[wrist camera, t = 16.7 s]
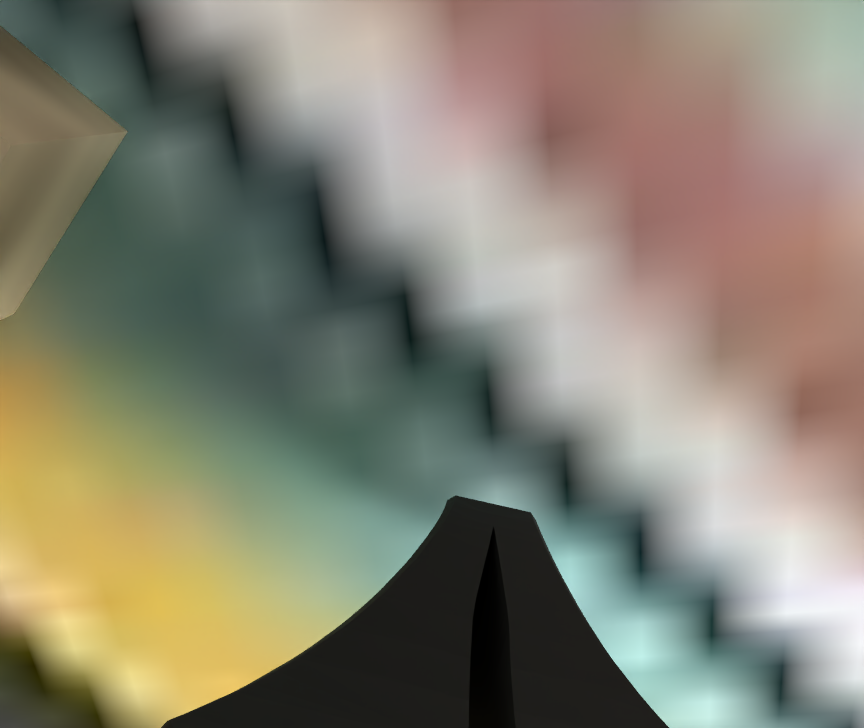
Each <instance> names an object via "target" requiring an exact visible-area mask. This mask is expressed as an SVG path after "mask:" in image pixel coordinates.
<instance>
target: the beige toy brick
mask: <svg viewBox="0 0 864 728" xmlns="http://www.w3.org/2000/svg"><path fill="white" fill-rule="evenodd" d="M127 132H128V131H127V130H125V129H124V128H123V127H122V126H121V125H119V124H118V123H117V122H116V121H115V120H113V119H112V118H111V117H110V116H109V115H107V114H106V113H105V112H104V111H103V110H101V109H100V108H99V107H98V106H97V105H95V104H94V103H93V102H92V101H90V100H89V99H88V98H87V97H86V96H84V95H83V94H82V93H81V92H80V91H78V90H77V89H76V88H75V87H74V86H72V85H71V84H70V83H69V82H68V81H66V80H65V79H64V78H63V77H62V76H60V75H59V74H58V73H57V72H56V71H54V70H53V69H52V68H51V67H50V66H48V65H47V64H46V63H45V62H43V61H42V60H41V59H40V58H39V57H37V56H36V55H35V54H34V53H33V52H31V51H30V50H29V49H28V48H27V47H25V46H24V45H23V44H22V43H21V42H19V41H18V40H17V39H16V38H15V37H13V36H12V35H11V34H10V33H9V32H7V31H6V30H5V29H4V28H3V27H1V26H0V320H2V319H4V318H6V317H9V316H11V315H13V314H15V312H16V310H17V309H18V307H19V305H20V304H21V302H22V301H23V299H24V297H25V296H26V294H27V293H28V291H29V289H30V288H31V286H32V285H33V283H34V281H35V280H36V278H37V277H38V275H39V273H40V272H41V270H42V268H43V267H44V265H45V264H46V262H47V260H48V259H49V257H50V256H51V254H52V252H53V251H54V249H55V248H56V246H57V244H58V243H59V241H60V240H61V238H62V236H63V235H64V233H65V232H66V230H67V228H68V227H69V225H70V223H71V222H72V220H73V219H74V217H75V215H76V214H77V212H78V211H79V209H80V207H81V206H82V204H83V203H84V201H85V199H86V198H87V196H88V195H89V193H90V191H91V190H92V188H93V186H94V185H95V183H96V182H97V180H98V178H99V177H100V175H101V174H102V172H103V170H104V169H105V167H106V166H107V164H108V162H109V161H110V159H111V158H112V156H113V154H114V153H115V151H116V149H117V148H118V146H119V145H120V143H121V141H122V140H123V138H124V137H125V135H126V133H127Z"/></svg>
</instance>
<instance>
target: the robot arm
mask: <svg viewBox="0 0 864 728" xmlns="http://www.w3.org/2000/svg"><path fill="white" fill-rule="evenodd" d="M161 728H669V727H668V726H667V725H666V724H665V723H664V722H663V721H662V720H661V719H660V717H659V716H658V715H657V714H656V713H655V712H654V711H653V710H652V708H651V707H650V706H649V705H648V704H647V703H646V701H645V700H644V699H643V698H642V697H641V696H640V694H639V693H638V692H637V691H636V689H635V688H634V687H633V685H632V684H631V683H630V682H629V680H628V679H627V678H626V676H625V675H624V674H623V673H622V671H621V670H620V669H619V667H618V666H617V665H616V664H615V662H614V661H613V660H612V658H611V657H610V655H609V654H608V653H607V651H606V650H605V648H604V647H603V645H602V644H601V642H600V641H599V639H598V637H597V636H596V634H595V633H594V631H593V630H592V628H591V627H590V625H589V623H588V622H587V620H586V618H585V617H584V615H583V613H582V612H581V610H580V608H579V607H578V605H577V603H576V601H575V600H574V598H573V596H572V594H571V592H570V591H569V589H568V587H567V585H566V583H565V581H564V580H563V578H562V576H561V574H560V572H559V570H558V568H557V566H556V564H555V562H554V560H553V558H552V556H551V554H550V552H549V550H548V547H547V545H546V543H545V541H544V539H543V536H542V534H541V532H540V529H539V527H538V525H537V522H536V520H535V518H534V517H533V515H532V514H531V512H526V511H522V510H518V509H513V508H509V507H504V506H500V505H495V504H491V503H486V502H482V501H477V500H473V499H468V498H464V497H459V496H454V497H452V498H450V499H449V500H447V503H446V506H445V508H444V510H443V512H442V514H441V516H440V518H439V520H438V521H437V523H436V525H435V526H434V527H433V529H432V530H431V532H430V533H429V535H428V536H427V538H426V539H425V540H424V541H423V543H422V544H421V545H420V546H419V548H418V549H417V550H416V551H415V553H414V554H413V555H412V557H411V558H410V559H409V560H408V561H407V563H406V564H405V565H404V566H403V567H402V568H401V569H400V570H399V571H398V572H397V573H396V574H395V575H394V576H393V577H392V579H391V580H390V581H389V582H388V583H387V584H386V585H385V586H384V587H383V588H382V589H381V590H380V591H379V592H378V593H377V594H376V595H375V596H374V597H373V598H372V599H370V600H369V601H368V602H367V603H366V604H365V605H364V606H363V607H362V608H360V609H359V610H358V611H357V612H356V613H355V614H353V615H352V616H351V617H350V618H349V619H347V620H346V621H345V622H344V623H342V624H341V625H340V626H339V627H337V628H336V629H335V630H333V631H332V632H330V633H329V634H328V635H326V636H325V637H324V638H322V639H321V640H320V641H318V642H317V643H316V644H314V645H313V646H311V647H310V648H308V649H307V650H305V651H304V652H302V653H301V654H299V655H298V656H296V657H295V658H293V659H291V660H290V661H288V662H286V663H285V664H283V665H281V666H279V667H278V668H276V669H274V670H272V671H271V672H269V673H267V674H265V675H264V676H262V677H260V678H259V679H257V680H255V681H253V682H252V683H250V684H248V685H246V686H244V687H243V688H241V689H239V690H237V691H235V692H233V693H231V694H229V695H226V696H224V697H222V698H220V699H217V700H215V701H213V702H211V703H208V704H206V705H204V706H202V707H199V708H197V709H195V710H193V711H190V712H188V713H186V714H183V715H181V716H178V717H176V718H173V719H171V720H169V721H167V722H166V723H165V724H164V725H163V726H162V727H161Z"/></svg>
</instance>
